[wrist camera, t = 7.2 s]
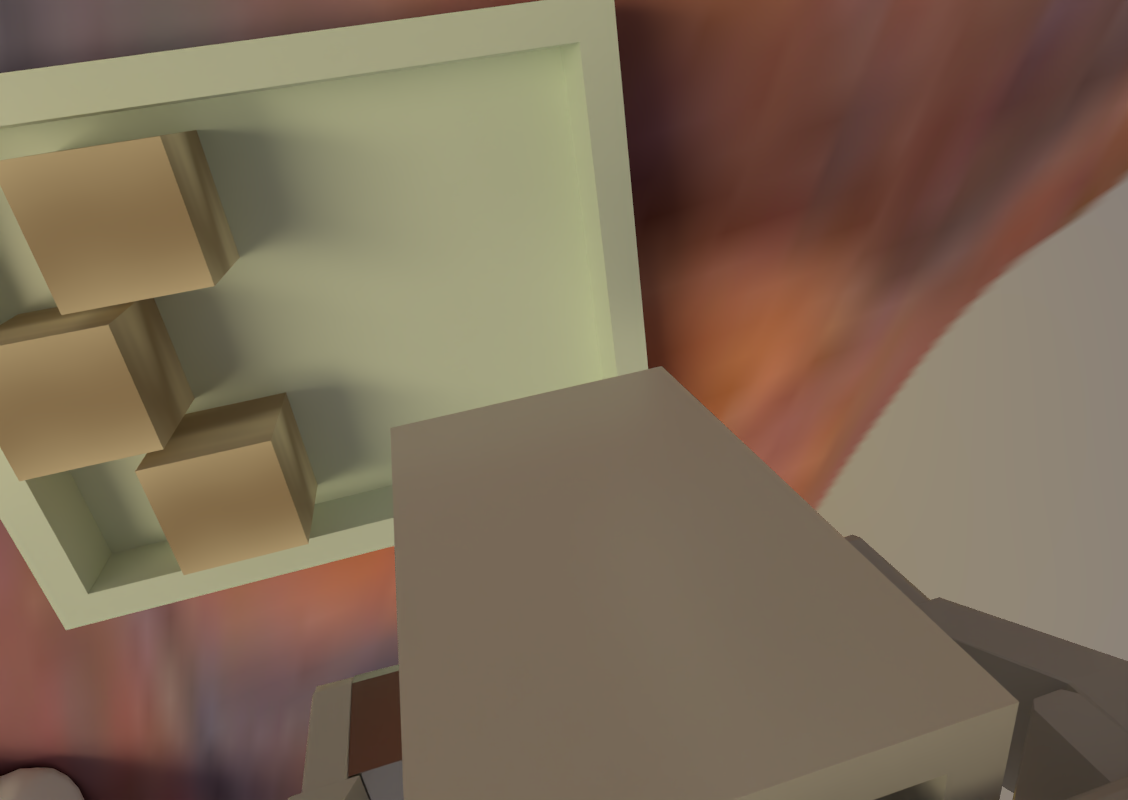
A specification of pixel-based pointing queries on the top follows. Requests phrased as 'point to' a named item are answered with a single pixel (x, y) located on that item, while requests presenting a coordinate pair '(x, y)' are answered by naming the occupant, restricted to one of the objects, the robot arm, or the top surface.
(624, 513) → the cream hollow square tube
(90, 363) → the maple block
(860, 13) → the top surface
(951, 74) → the top surface
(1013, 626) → the robot arm
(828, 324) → the top surface
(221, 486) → the maple block
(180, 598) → the tray
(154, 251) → the maple block
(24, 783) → the cream tall nozzled container
